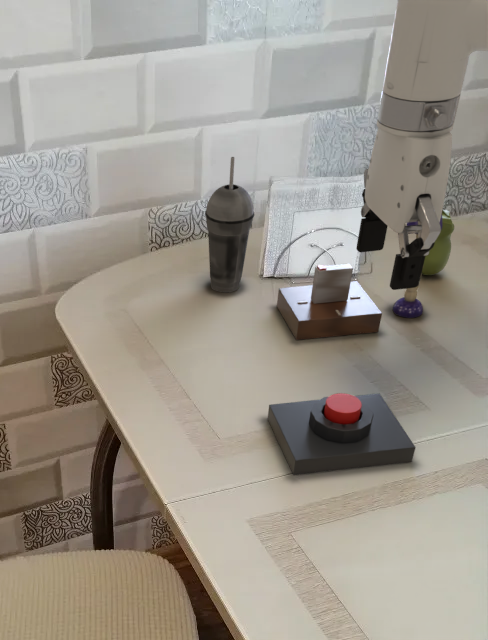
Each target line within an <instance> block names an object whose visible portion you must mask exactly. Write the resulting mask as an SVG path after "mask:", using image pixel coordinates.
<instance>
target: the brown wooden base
mask: <svg viewBox="0 0 488 640" xmlns="http://www.w3.org/2000/svg"><path fill="white" fill-rule="evenodd" d="M312 287H313V284H310V285H297V286H288V287H280V288H278V293H277V302H276V308H277V309H278V311H279V313H280V314H281V316H282V317H283V320H284V321H285V323H286V325H287V326H288V329H289V330H290V332H291V333H292V335H293V337H294V339H295V340H296V341H299V340H300V341H301V340H309V339H320V338H330V337H331V338H333V337H340V336H350V335H351V336H352V335H360V334H361V335H362V334H372V333H379V330H380V325H381V321H382V317H383V316H382V315H383V312H382V311H381V310H380V309H379V307H378V306H377V304H376V303H375V302H374V301H373V300H372V298H371V297H370V296H369V294H368V293H367V292H366V291H365V289H364V288H363V286H362V285H361V284H360V283H359V281H358V280H353V281H352V280H351V284H350V289H349V295H348V300H347V301H338V302H327V303H317V304H314V303H313V302H312V300H311V294H312Z"/></svg>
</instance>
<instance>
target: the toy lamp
mask: <svg viewBox="0 0 488 640" xmlns="http://www.w3.org/2000/svg"><path fill="white" fill-rule="evenodd" d="M439 223H440V226H441V230H442V214H441V218H440V222H439ZM405 225H406V226H411V225H418V221H416V222H408V223H406V224H405ZM414 234H415V239H416V238H418V233H414ZM423 266H424V265H423ZM422 275H423V274H422V273H421V276H422ZM419 288H420V284H419V285H418V286H417V287H415V288H407V289H405V291H404V293H403V297H400V298H399V299H397V300H396V301H395V303H393V306H392V311H393V313H394V314H395V315H396V316H399V317H401V318H406V319H407V318H408V319H415V318H418V317H420V316H421V315H422V314H423V313H424V306H423V304H422V302H421V301H420V300H419V299H418V298H417V297H418V290H419Z"/></svg>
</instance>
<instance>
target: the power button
mask: <svg viewBox="0 0 488 640" xmlns="http://www.w3.org/2000/svg"><path fill="white" fill-rule="evenodd" d="M355 396H356V395H353V394H350V393H345V392H344V393H343V392H338V393H333V394H330V395H329V396H327V397H328V398H327V400H326V404H325V410H324V416H325V418H326V419H328V420H329V421H331V422H333V423H338V424H343V425H345V424H354V423H356V422H357V421H358V420H359V416H360V411H361V407H362V404H361V401H360V400H359V399H358V398H357V397H355Z"/></svg>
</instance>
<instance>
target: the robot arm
mask: <svg viewBox="0 0 488 640" xmlns="http://www.w3.org/2000/svg"><path fill="white" fill-rule="evenodd" d="M390 36H391V37H390V43H389V48H388V52H387V54H388V55H387V60H386V66H385V73H384V78H383V83H382V90H381V95H380V100H379V107H378V114H377V119H376V127H377V130H376V135H375V138H374V143H373V146H372V151H371V155H370V160H369V163H368V168H365V169H364V171H363V190H362V193H361V197H362V201H363V205H362V207H361V209H360V216H361V219H360V225H359V231H358V236H357V242H356V251H357V252H358V253H366V252H367V253H369V252H377V251H382V250H383V249H384V247H385V241H386V237H387V231H388V228H389V229H390V230H392V231H393V232H395V233H396V234H397V239H398V247H399V253H396V254H395V257H394V261H393V266H392V271H391V277H390V280H389V288H390V289H391V290H393V291H399V290H407V288H415V287H417V286H418V285H419V286H420V282H421V279H422V275H421V273H422V269H423V265H424V261H425V256H427V255H428V254H429V251H430V250H431V249H432V248H433V246H434V244H435V241H436V239H437V237H438V236H439V234H440V232H441V226H440V223H439V222H440V218H441V214H442V210H444V209H443V208H444V203H445V199H446V194H447V193H446V192H447V188H448V182H449V176H450V175H449V174H450V168H451V159H452V149H453V148H452V147H453V133H452V131H453V129H454V124H455V120H456V117H457V112H458V107H459V104H460V99H461V94H462V88H463V85H464V81H465V76H466V71H467V67H468V63H469V58H470V55H471V54H473V53H475V52H488V0H397V1H396V7H395V13H394V18H393V23H392V31H391V35H390ZM416 221H418V225H411V226H406V225H407V223H408V222H416ZM415 233H418V238H416V237H415V239H414V240H412V241H411V242H410V240H409V235H410V234H411V235H412V234H413V235H414V234H415Z"/></svg>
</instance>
